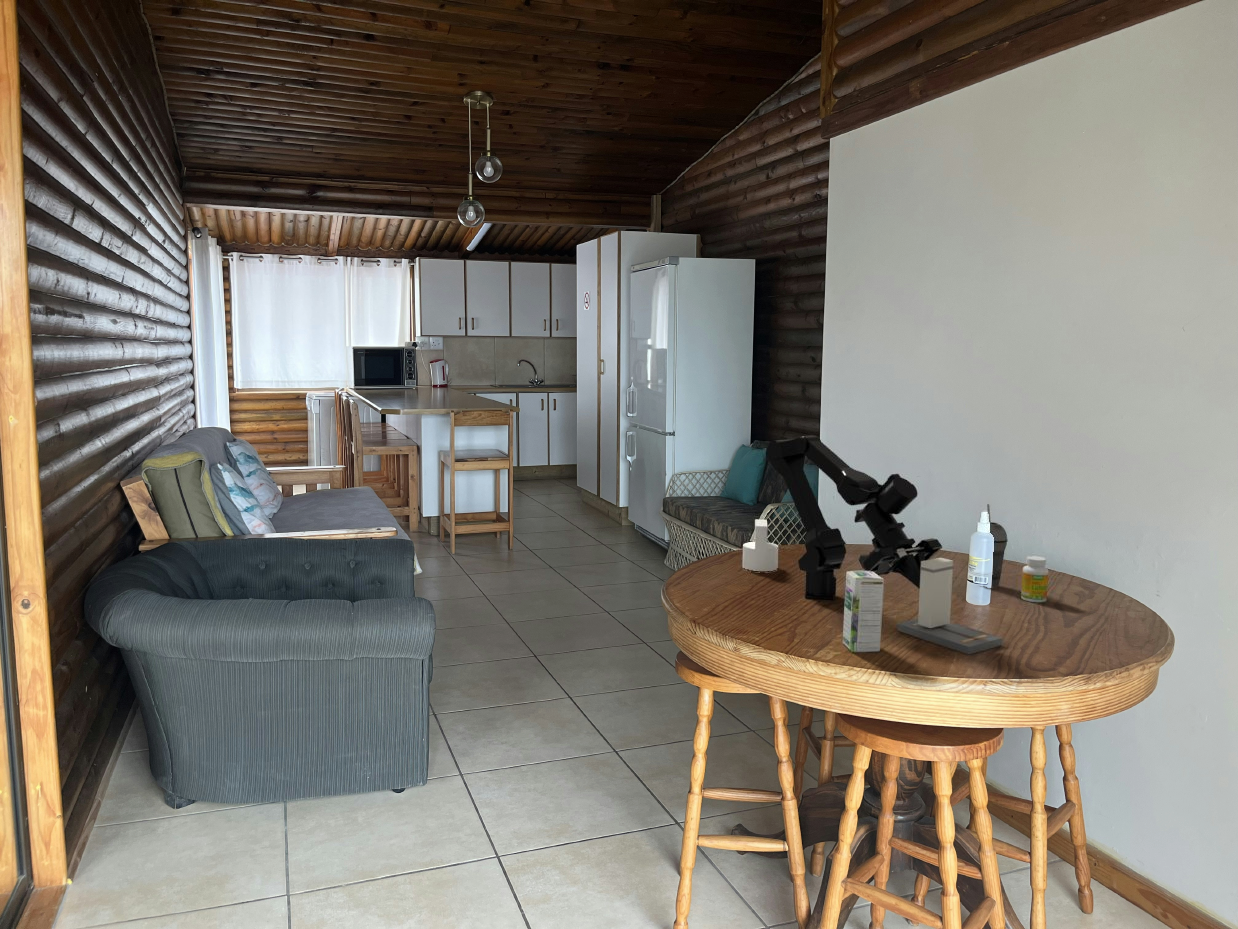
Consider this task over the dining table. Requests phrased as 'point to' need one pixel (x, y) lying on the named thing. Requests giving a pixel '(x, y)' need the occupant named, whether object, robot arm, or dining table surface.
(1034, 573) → the supplement bottle
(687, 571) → the dining table surface
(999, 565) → the beverage cup
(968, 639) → the fader console
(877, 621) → the syrup box
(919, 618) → the fader knob
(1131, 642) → the dining table surface
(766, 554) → the base with upright slab
